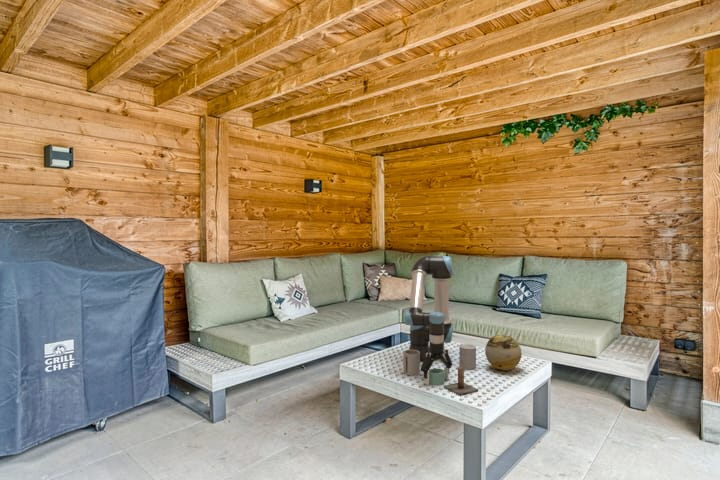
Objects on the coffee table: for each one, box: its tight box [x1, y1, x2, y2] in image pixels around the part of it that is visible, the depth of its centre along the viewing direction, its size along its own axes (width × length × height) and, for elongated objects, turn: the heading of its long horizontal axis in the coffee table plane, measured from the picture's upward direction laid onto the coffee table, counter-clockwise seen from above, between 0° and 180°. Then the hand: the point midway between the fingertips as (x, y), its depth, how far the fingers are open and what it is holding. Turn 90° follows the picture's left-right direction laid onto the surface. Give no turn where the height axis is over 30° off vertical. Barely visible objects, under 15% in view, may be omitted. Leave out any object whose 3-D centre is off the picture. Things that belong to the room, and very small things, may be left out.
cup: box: [403, 349, 421, 377], centre depth 235 cm, size 9×9×12 cm
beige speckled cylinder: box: [459, 343, 477, 371], centre depth 244 cm, size 10×10×12 cm
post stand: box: [443, 367, 479, 397], centre depth 210 cm, size 12×12×11 cm
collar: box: [428, 367, 446, 386], centre depth 220 cm, size 8×8×6 cm
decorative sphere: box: [484, 334, 523, 371], centre depth 239 cm, size 20×20×20 cm
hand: (436, 381), depth 220 cm, fingers open, 13 cm apart
